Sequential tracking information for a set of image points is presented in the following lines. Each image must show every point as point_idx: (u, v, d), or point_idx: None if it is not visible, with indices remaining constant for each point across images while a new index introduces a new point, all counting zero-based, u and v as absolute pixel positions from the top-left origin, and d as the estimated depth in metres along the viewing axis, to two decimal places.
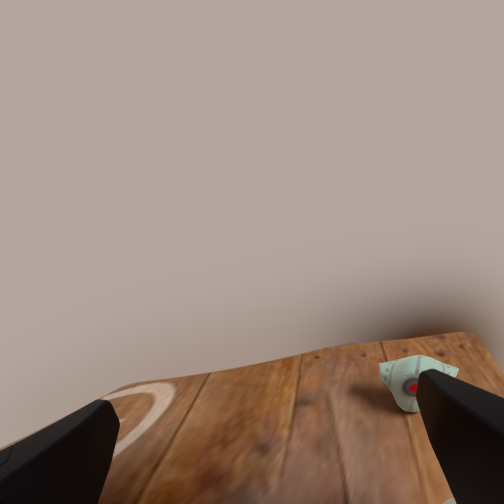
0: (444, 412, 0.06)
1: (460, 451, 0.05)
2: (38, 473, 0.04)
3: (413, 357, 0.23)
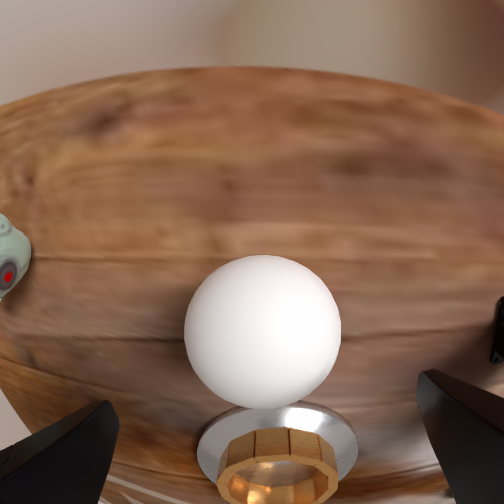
0: (444, 412, 0.06)
1: (460, 451, 0.05)
2: (38, 472, 0.04)
3: None
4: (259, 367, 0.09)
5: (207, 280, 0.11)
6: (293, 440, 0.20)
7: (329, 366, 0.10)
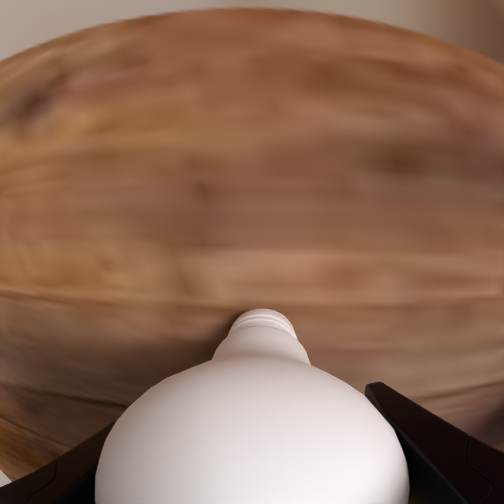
0: None
1: None
2: (89, 489, 0.04)
3: None
4: None
5: (122, 428, 0.04)
6: None
7: None
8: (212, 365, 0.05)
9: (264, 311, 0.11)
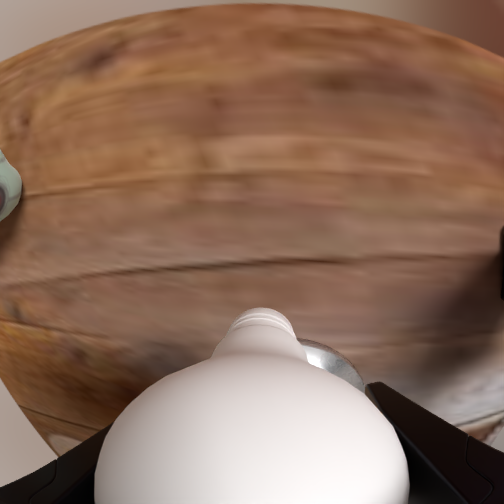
0: None
1: None
2: (90, 488, 0.04)
3: None
4: None
5: (121, 426, 0.04)
6: None
7: None
8: (211, 363, 0.05)
9: (262, 311, 0.11)
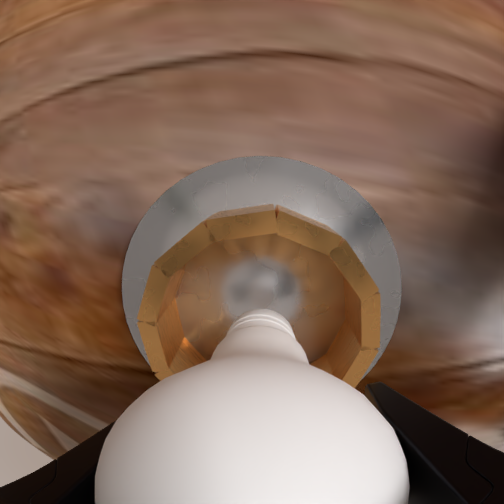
0: None
1: None
2: (90, 488, 0.04)
3: None
4: None
5: (122, 428, 0.04)
6: (283, 209, 0.12)
7: None
8: (211, 365, 0.05)
9: (262, 311, 0.11)
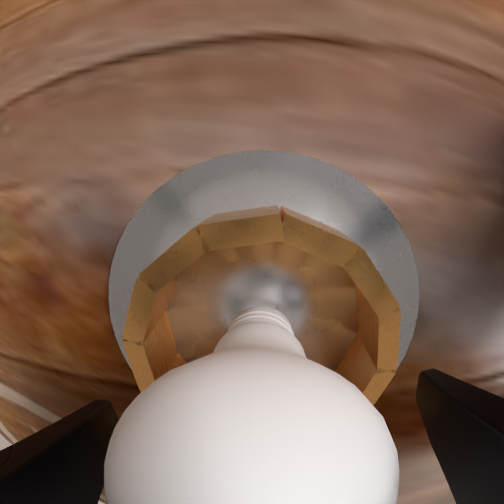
0: (444, 412, 0.06)
1: (460, 451, 0.05)
2: (38, 472, 0.04)
3: None
4: None
5: (130, 416, 0.05)
6: (289, 211, 0.11)
7: None
8: (213, 357, 0.06)
9: (262, 309, 0.12)
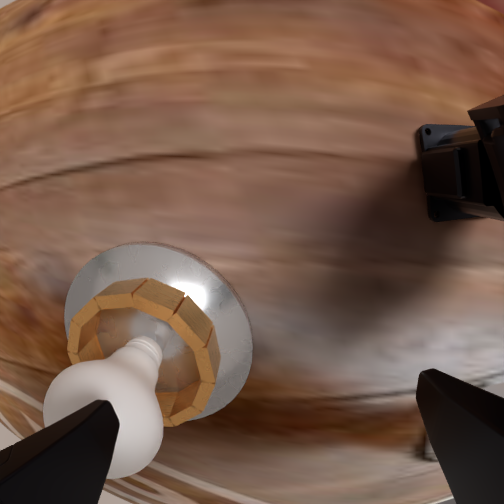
0: (444, 412, 0.06)
1: (460, 451, 0.05)
2: (38, 473, 0.04)
3: None
4: None
5: (52, 381, 0.12)
6: (146, 286, 0.18)
7: (138, 460, 0.11)
8: (83, 362, 0.13)
9: (141, 337, 0.19)
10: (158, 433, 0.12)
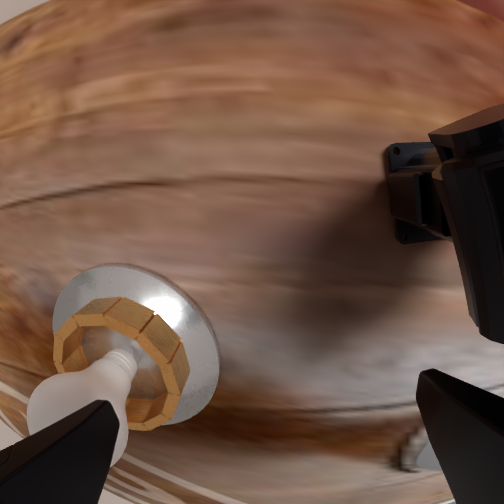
0: (444, 412, 0.06)
1: (460, 451, 0.05)
2: (38, 472, 0.04)
3: None
4: None
5: (34, 390, 0.13)
6: (118, 306, 0.19)
7: None
8: (59, 374, 0.14)
9: (117, 350, 0.20)
10: (120, 438, 0.13)
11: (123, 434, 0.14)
